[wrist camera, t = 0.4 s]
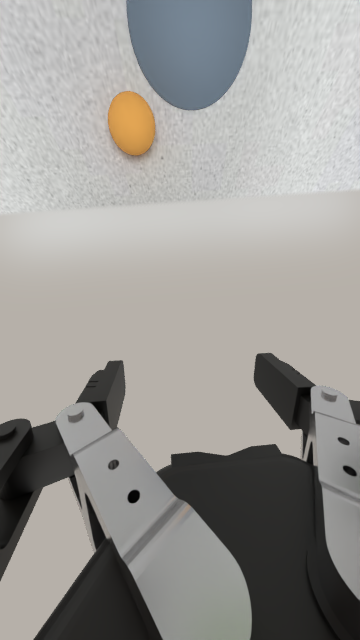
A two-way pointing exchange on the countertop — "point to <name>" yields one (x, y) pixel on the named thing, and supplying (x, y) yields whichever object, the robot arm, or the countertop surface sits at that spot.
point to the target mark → (190, 46)
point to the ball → (131, 123)
